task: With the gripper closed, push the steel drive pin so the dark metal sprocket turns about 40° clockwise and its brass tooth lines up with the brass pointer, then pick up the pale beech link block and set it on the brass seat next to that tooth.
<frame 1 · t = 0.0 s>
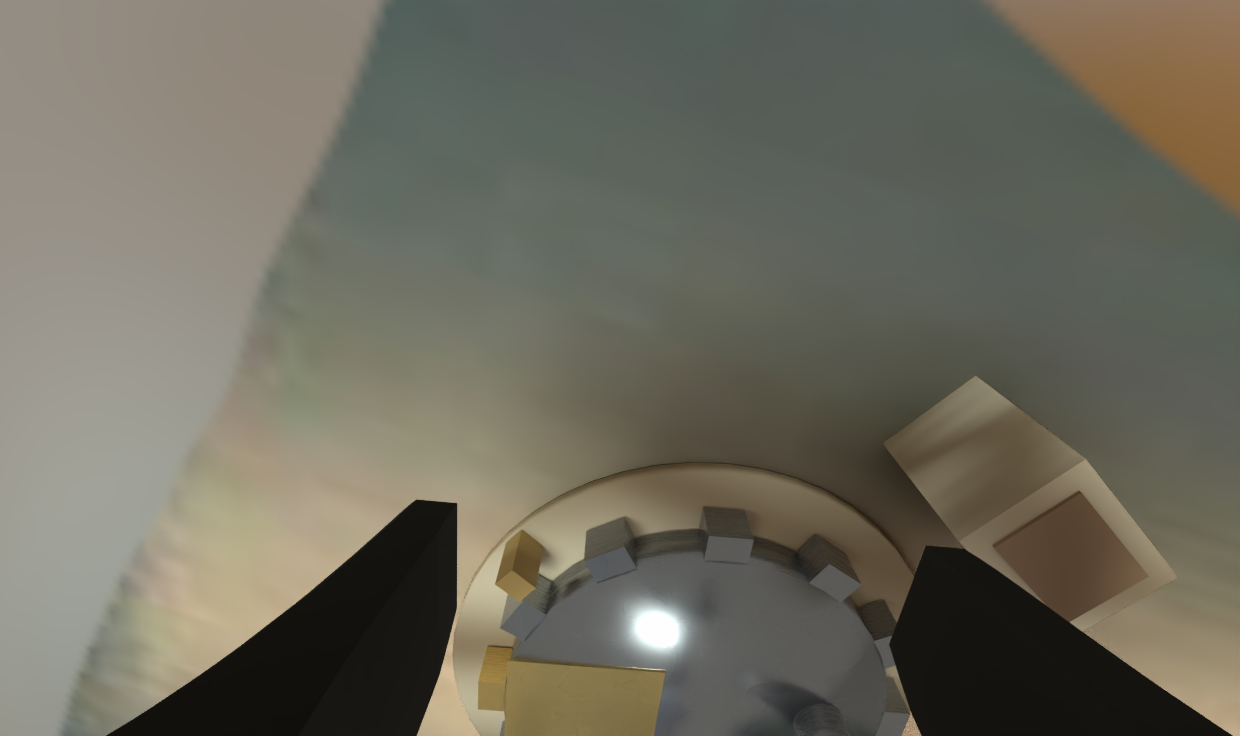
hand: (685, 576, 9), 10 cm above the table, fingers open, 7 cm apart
link block: (969, 457, 20), on the table
sprocket base: (688, 660, 24), on the table
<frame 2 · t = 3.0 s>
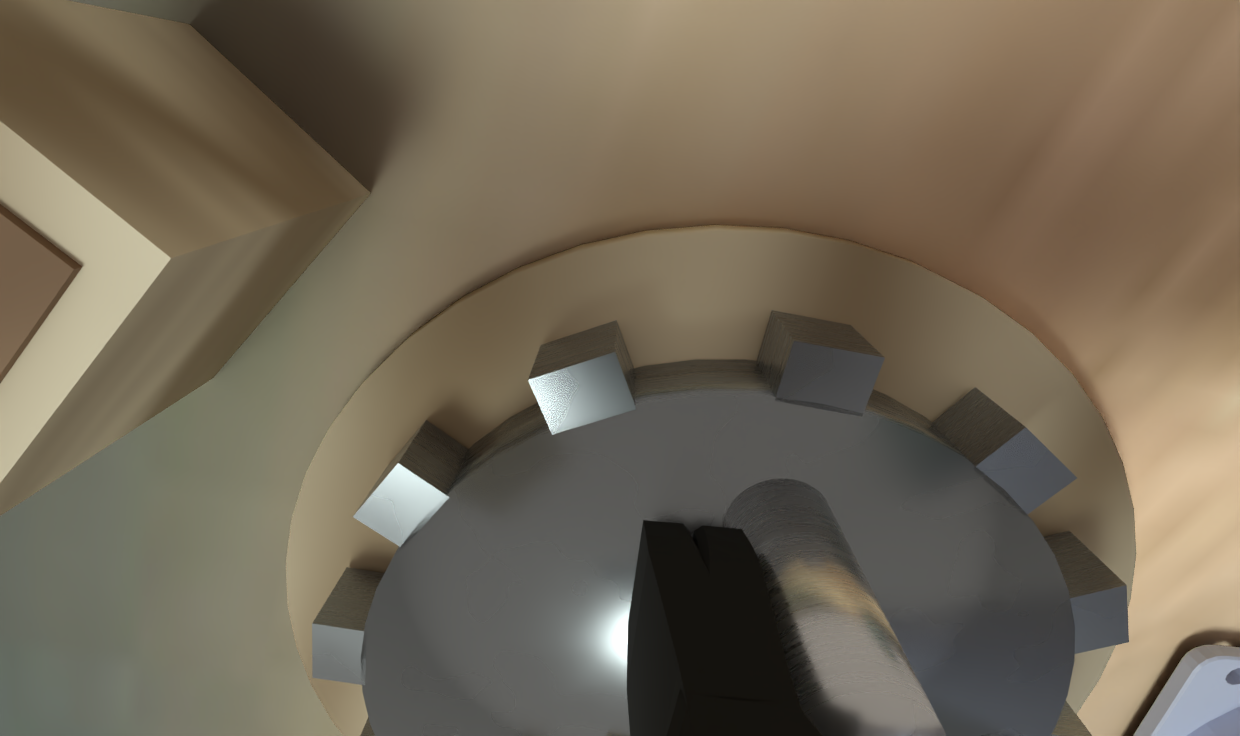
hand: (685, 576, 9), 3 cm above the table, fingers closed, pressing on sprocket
link block: (204, 220, 11), on the table
sprocket base: (699, 623, 14), on the table
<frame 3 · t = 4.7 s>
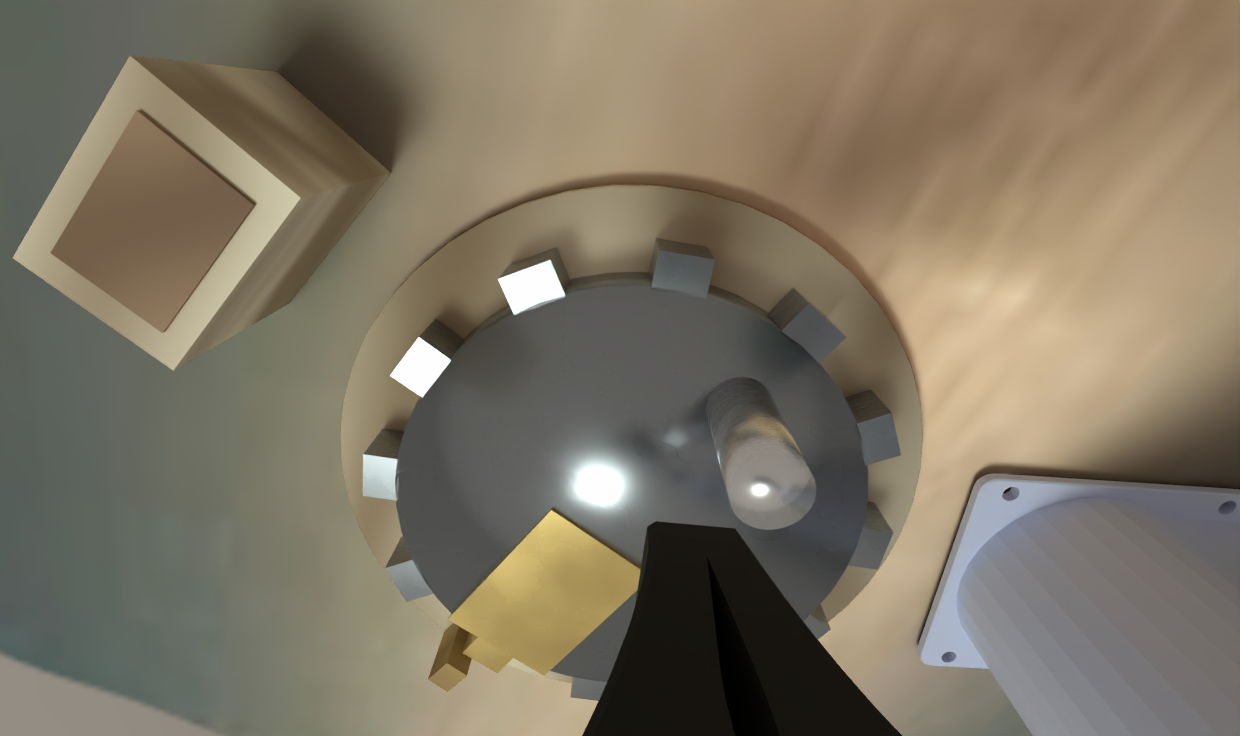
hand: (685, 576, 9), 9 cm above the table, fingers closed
sprocket: (631, 542, 17), point 3 cm above the table, hinge at -35.7°
link block: (284, 195, 17), on the table
sprocket base: (630, 472, 20), on the table
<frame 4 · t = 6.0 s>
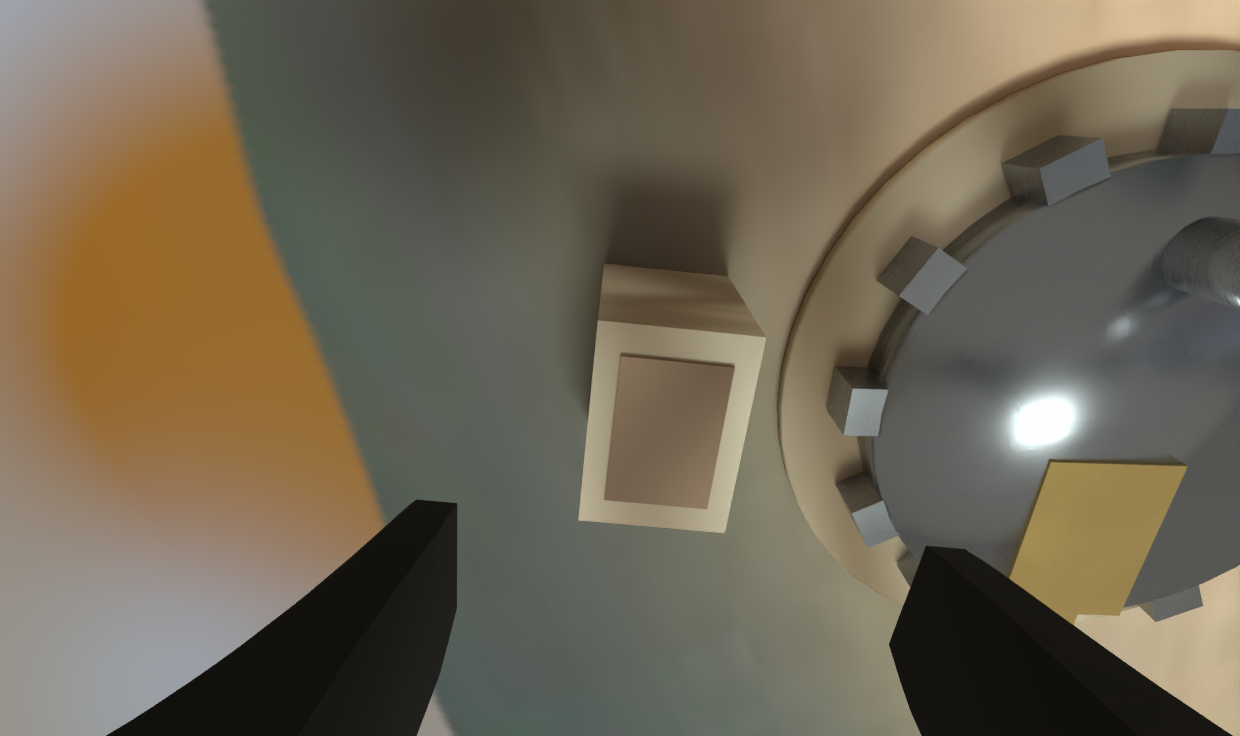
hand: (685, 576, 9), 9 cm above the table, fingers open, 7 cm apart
sprocket: (1172, 444, 15), point 3 cm above the table, hinge at -35.7°
link block: (654, 351, 18), on the table
sprocket base: (1077, 386, 18), on the table
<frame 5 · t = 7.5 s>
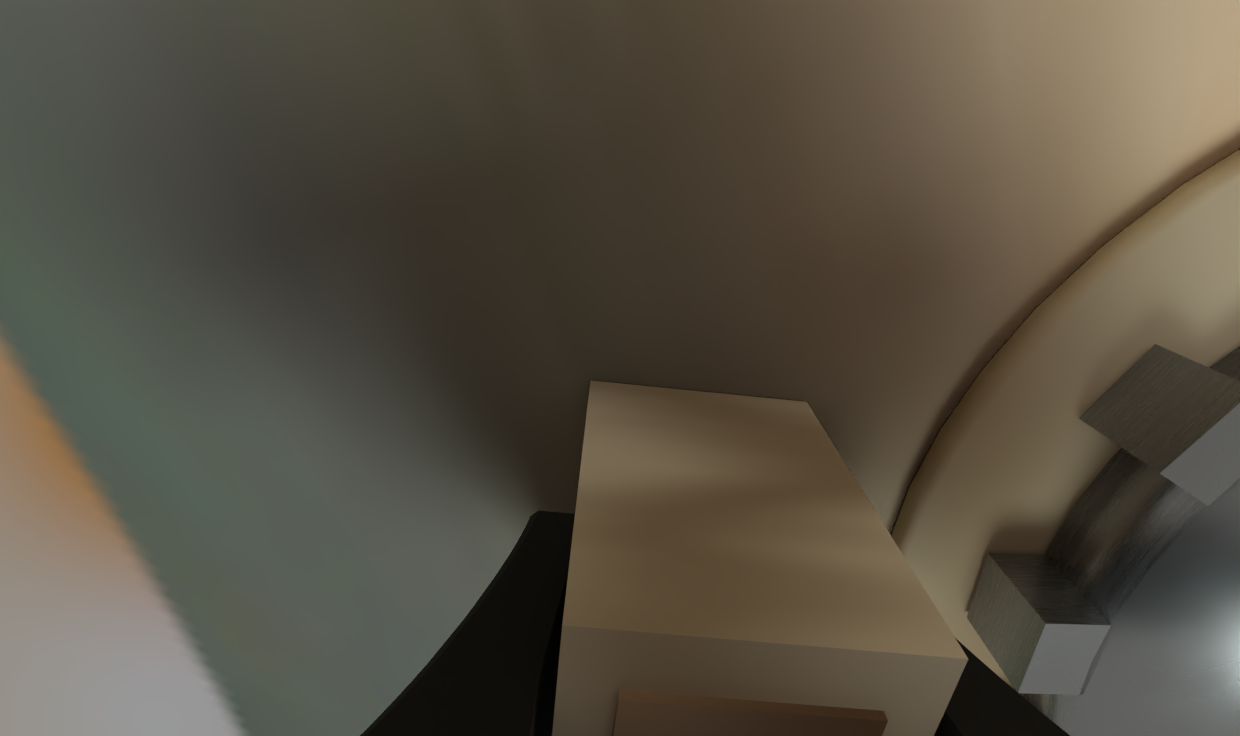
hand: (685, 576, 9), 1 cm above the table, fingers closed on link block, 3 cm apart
link block: (677, 519, 11), on the table, touching gripper
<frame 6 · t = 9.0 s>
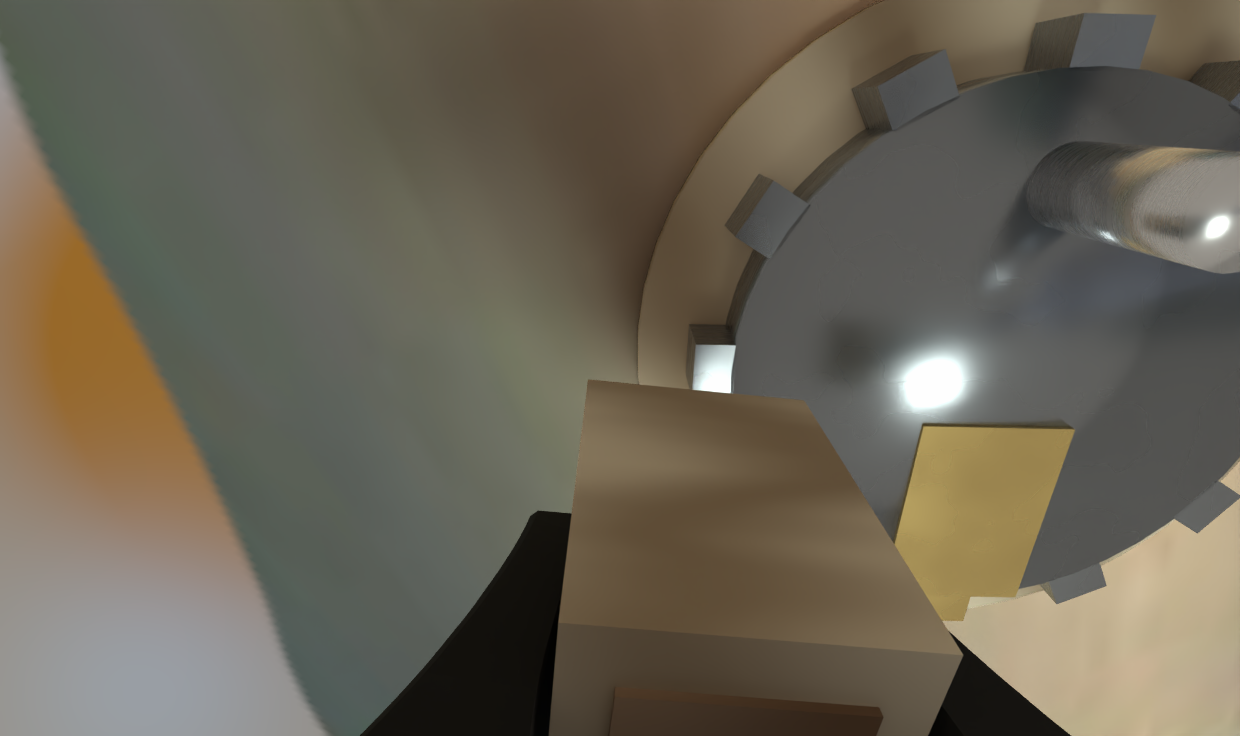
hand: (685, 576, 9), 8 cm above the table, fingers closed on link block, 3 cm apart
sprocket: (1044, 401, 14), point 3 cm above the table, hinge at -35.7°
link block: (675, 517, 11), point 7 cm above the table, touching gripper
sprocket base: (964, 346, 17), on the table
when the fingers open (5 cm above the table, at t = 10.5 s): link block stays where it is, resting on sprocket.
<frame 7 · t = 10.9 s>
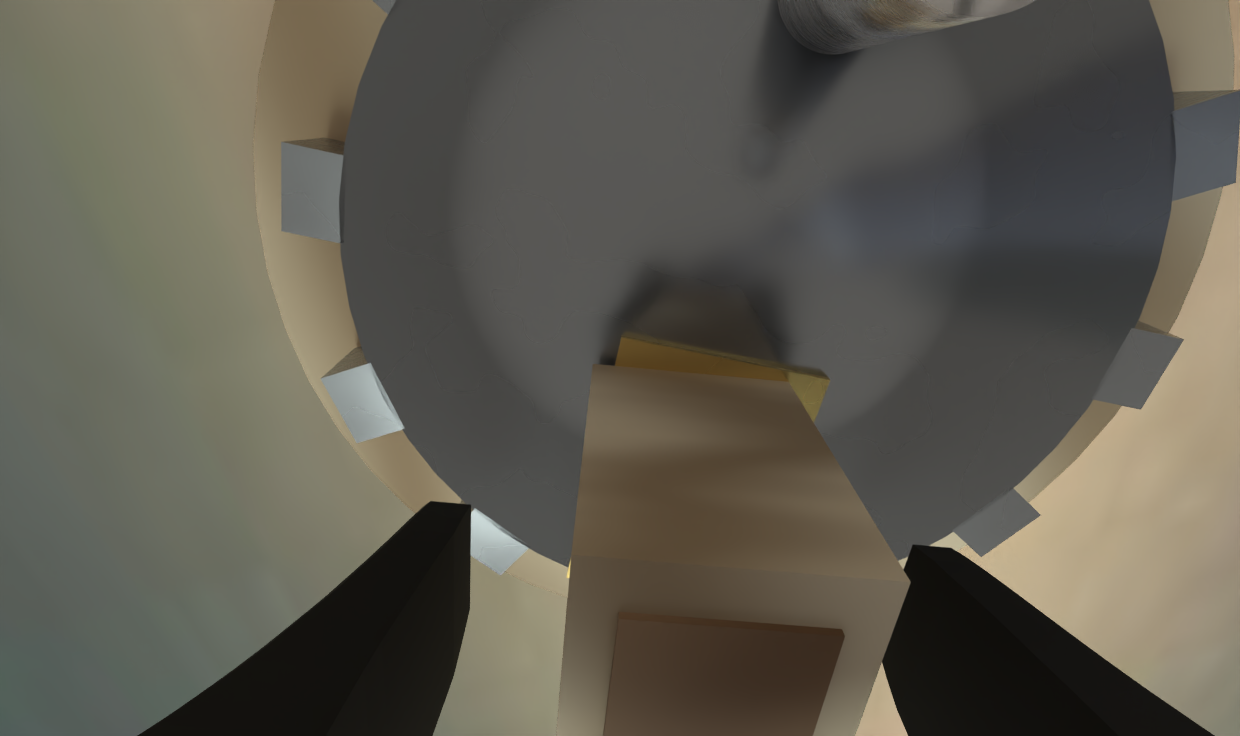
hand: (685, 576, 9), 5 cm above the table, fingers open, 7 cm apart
sprocket: (763, 309, 9), point 3 cm above the table, hinge at -35.7°, touching link block
link block: (672, 491, 12), point 2 cm above the table, touching sprocket
sprocket base: (727, 257, 12), on the table
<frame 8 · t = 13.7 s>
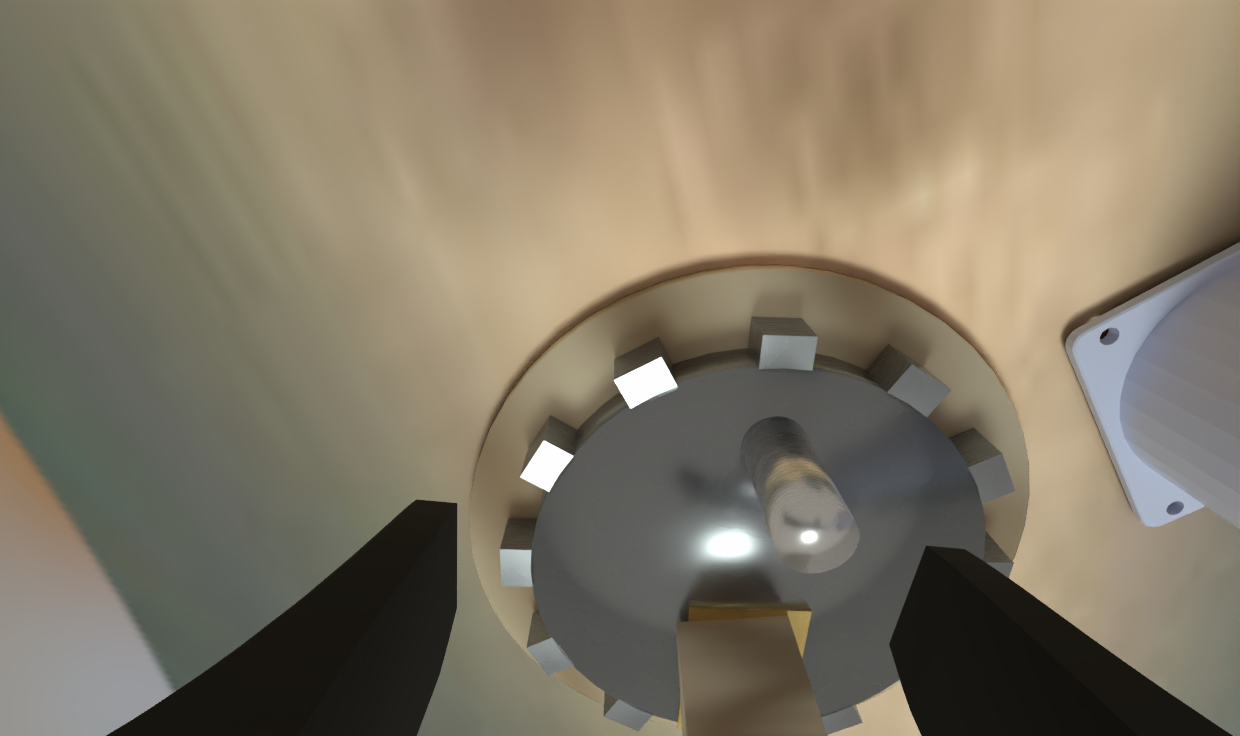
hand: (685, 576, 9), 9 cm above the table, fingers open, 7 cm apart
sprocket: (763, 605, 17), point 3 cm above the table, hinge at -35.7°, touching link block
link block: (732, 676, 20), point 2 cm above the table, touching sprocket
sprocket base: (741, 528, 21), on the table
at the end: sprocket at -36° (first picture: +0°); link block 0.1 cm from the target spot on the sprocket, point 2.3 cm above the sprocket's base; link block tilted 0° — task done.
